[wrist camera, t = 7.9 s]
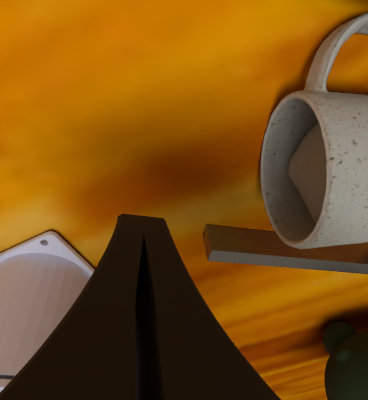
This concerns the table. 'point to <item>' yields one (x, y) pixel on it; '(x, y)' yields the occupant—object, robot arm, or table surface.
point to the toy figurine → (346, 362)
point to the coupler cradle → (280, 251)
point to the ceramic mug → (319, 157)
